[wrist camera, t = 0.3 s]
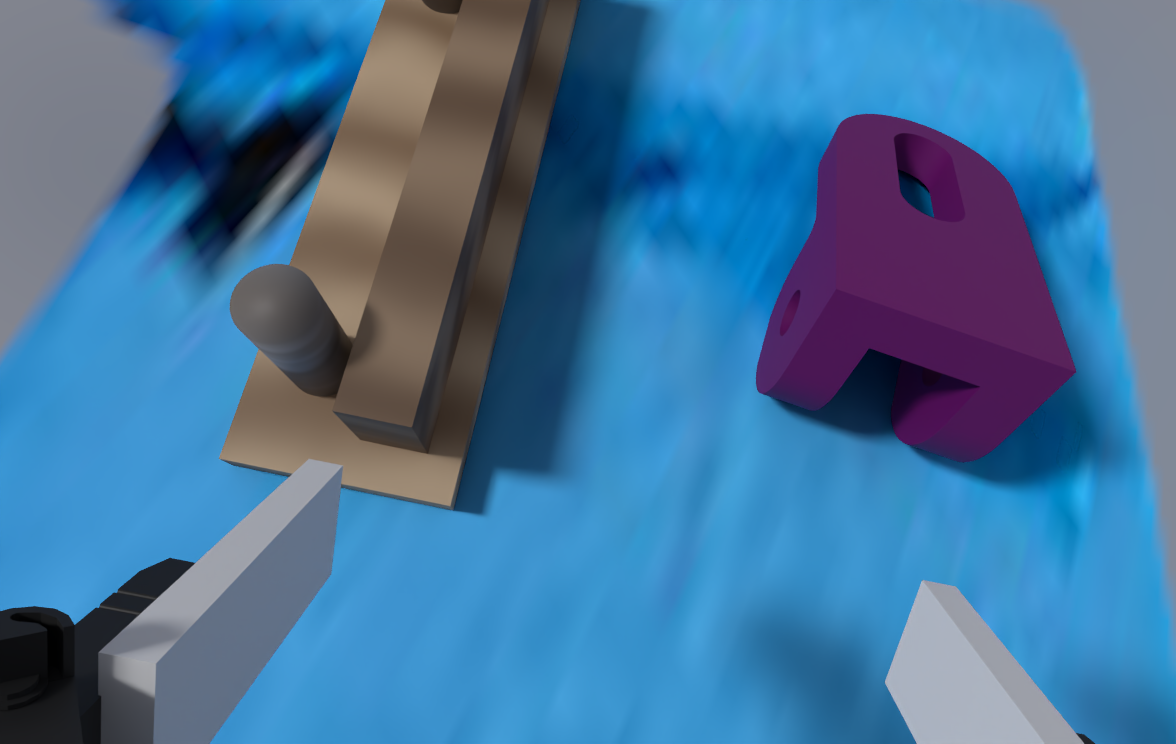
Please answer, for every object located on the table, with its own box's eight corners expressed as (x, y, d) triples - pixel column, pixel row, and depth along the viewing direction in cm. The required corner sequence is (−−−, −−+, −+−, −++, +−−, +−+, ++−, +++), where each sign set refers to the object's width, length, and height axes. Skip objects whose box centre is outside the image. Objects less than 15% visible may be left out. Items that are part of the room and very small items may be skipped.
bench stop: (453, 510, 32) (431, 479, 24) (232, 465, 32) (135, 418, 24) (587, -26, 42) (603, -174, 34) (420, -64, 42) (397, -223, 34)
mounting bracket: (775, 221, 45) (748, 426, 33) (837, 95, 39) (834, 288, 27) (916, 269, 45) (945, 495, 33) (1001, 151, 39) (1076, 372, 27)
